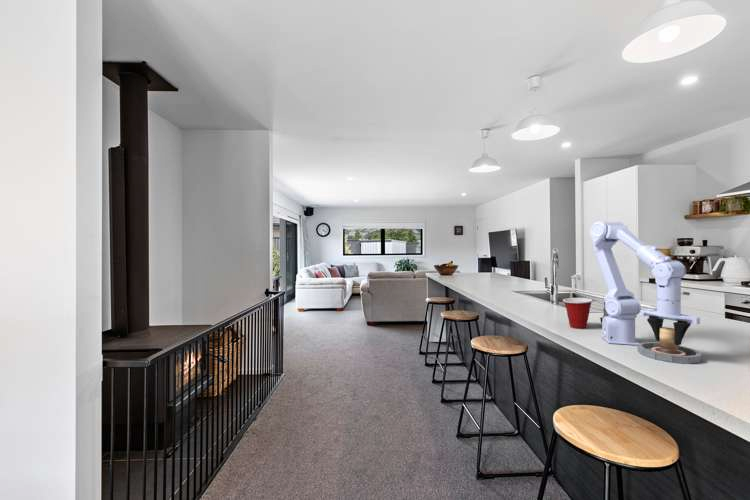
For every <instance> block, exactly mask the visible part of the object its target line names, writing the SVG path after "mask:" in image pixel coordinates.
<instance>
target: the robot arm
mask: <svg viewBox="0 0 750 500" xmlns="http://www.w3.org/2000/svg"><path fill="white" fill-rule="evenodd" d="M589 234H590V238H591V241H592V249H593V253H594V255H595V258H596V261H597V264H598V267H599V270H600V272H601V275H602V278H603V281H604V284H605V286H606V288H607V289H606V290H607V293H606V294H605V296H604V297H603V300H604V302H605V309H606V312H607V313H608V314H609V316H608V317H607V316H605V317H603V316H602V317H603V320H602V323H601V326H602V328H601V338H602V339H603V340H604V341H605V342H606V343H608V344H613V345H614V344H617V345H631V346H638V344H640V342H638V341H636V318H638V317H637V315H639V314H640V316H641V317H648V318H646V319H647V320H646V321H647V322H648V324H649V326H650V327H651V329H652V332H653V334H654V338H655V342H659V334H660V327H663V325H664V324H663V323H664V320H669V321H675V322H673V323H672V324H673V328H674V329H675V345H680V346H682V342H683V338H684V336H685V334H686V332H687V331H688V329H689V328H690V327H691V325H692V324H693V325H700V324H701V318H700V317H698V316H693V315H688V314H683V313H682V312H681V311H682V308H681V307H682V305H681V304H682V302H681V301H682V296H681V295H682V293H681V292H682V290H681V289H682V279H683V278H684V277H685V275H686V274H687V270H686V267H685V265H684V264H683V262H681V261H679V260H673V259H672V258H671V257H670V256H667V255H666V254H664V253H663V252H662V251H660V250H659V249H660V248H659V247H658V246H654V245H650V244H649V245H646V244H645V243H644V242H643V241H642V240H641V239H639V238H638V237H637V236H636V235H635V234H634V233H633V232H632V231H631V230H629V228H628V226H627V225H625V224H624V223H623V222H621V221H596V222H594V223H593V224H592V226H591V228H590V230H589ZM618 241H620V242H621V243H623V244H624V245H626V246H627V247H628V248H629V249H631V250H632V251H634V252H635V253H636V258H637V259H638V260H640V261H641V262H642V263H643V264H644V265H645V266H646V267H648V268H649V269H650V270H651V274H652V276H653V277H654V279H655V284H656V310H650V309H644V308H643V309H641V308H642V306H641V302H640V301H639V300H638V299H637V298H636V297H635V295H634V293H633V292H632V291H630V290H628V288H627V287H626V285H625V283H624V280H623V277H622V274H621V272H620V269H619V267H618V264H617V262H616V261H617V260H616V258H615V256H614V254H613V250H612V248H613V247H614V245H616V243H617V242H618Z"/></svg>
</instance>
